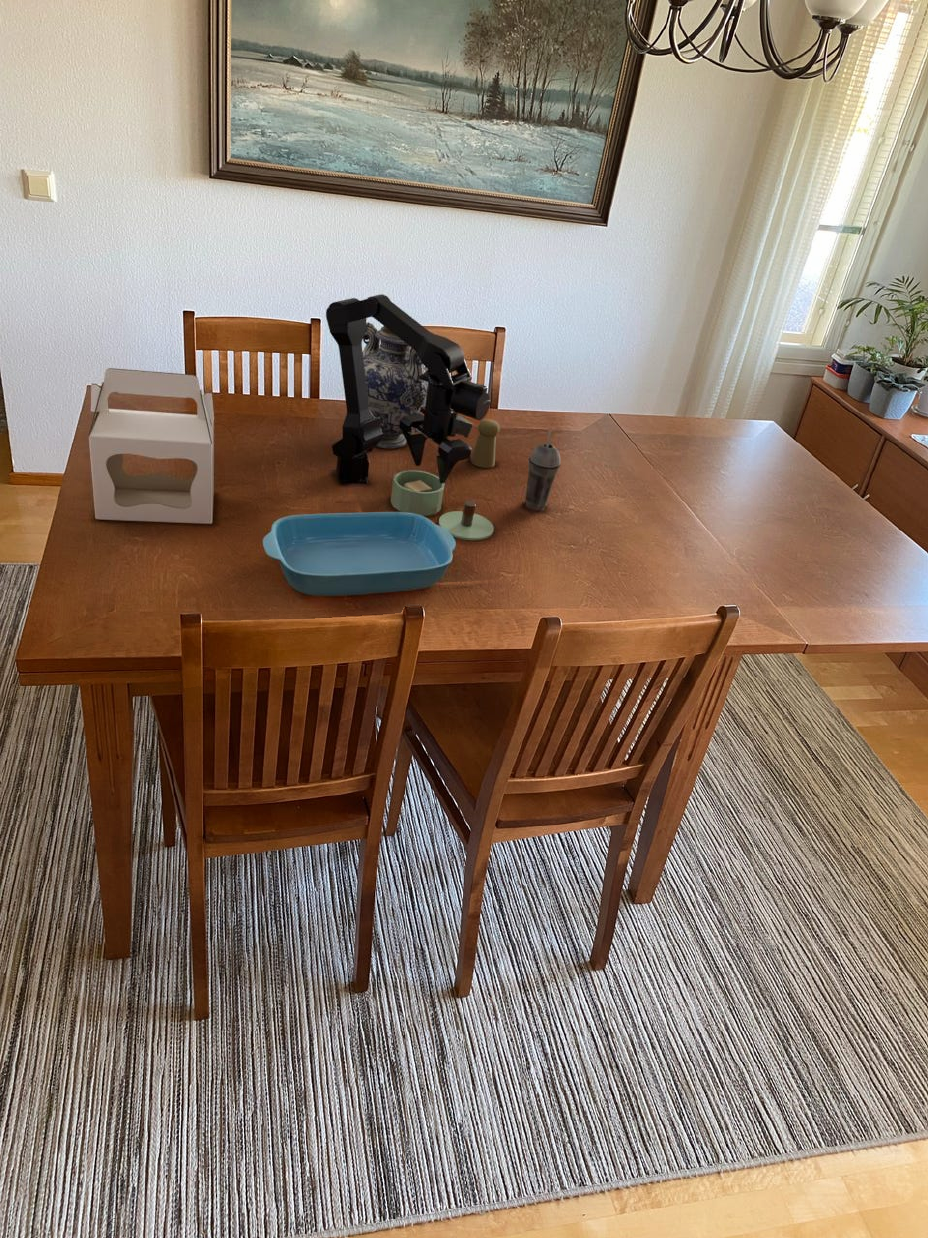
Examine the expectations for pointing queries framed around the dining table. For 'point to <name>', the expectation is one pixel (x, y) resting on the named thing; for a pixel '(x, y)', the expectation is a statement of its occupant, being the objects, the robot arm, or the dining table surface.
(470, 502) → the lid
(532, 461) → the beverage cup
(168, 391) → the gable box
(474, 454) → the pepper mill
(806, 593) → the dining table surface
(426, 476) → the pot
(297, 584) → the casserole dish
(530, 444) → the dining table surface
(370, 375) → the decorative vase
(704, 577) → the dining table surface
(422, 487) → the block
